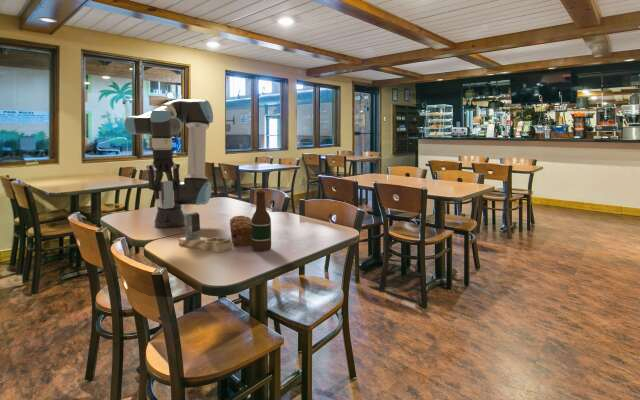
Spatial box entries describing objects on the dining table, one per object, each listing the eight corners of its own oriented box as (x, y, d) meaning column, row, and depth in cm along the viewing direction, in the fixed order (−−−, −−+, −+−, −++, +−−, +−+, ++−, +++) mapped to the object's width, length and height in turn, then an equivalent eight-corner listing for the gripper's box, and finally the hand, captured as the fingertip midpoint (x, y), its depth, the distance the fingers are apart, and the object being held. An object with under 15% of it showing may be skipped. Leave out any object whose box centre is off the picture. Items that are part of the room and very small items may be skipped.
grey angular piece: (178, 244, 170) (177, 213, 168) (191, 240, 176) (190, 210, 173) (219, 252, 158) (217, 219, 156) (231, 248, 164) (230, 216, 162)
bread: (230, 236, 184) (229, 215, 183) (253, 235, 187) (252, 214, 185) (231, 247, 166) (231, 223, 165) (257, 245, 169) (257, 222, 168)
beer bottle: (261, 245, 169) (260, 189, 165) (275, 248, 164) (274, 190, 160) (248, 249, 162) (246, 191, 158) (262, 253, 158) (261, 193, 154)
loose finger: (168, 206, 168) (167, 180, 167) (173, 207, 166) (172, 181, 164) (157, 207, 165) (156, 181, 163) (163, 209, 162) (161, 182, 160)
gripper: (145, 149, 152) (149, 210, 156) (187, 148, 166) (189, 204, 170) (136, 149, 157) (140, 207, 161) (177, 148, 171) (180, 202, 174)
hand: (165, 205), depth 165 cm, fingers closed on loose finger, 5 cm apart
